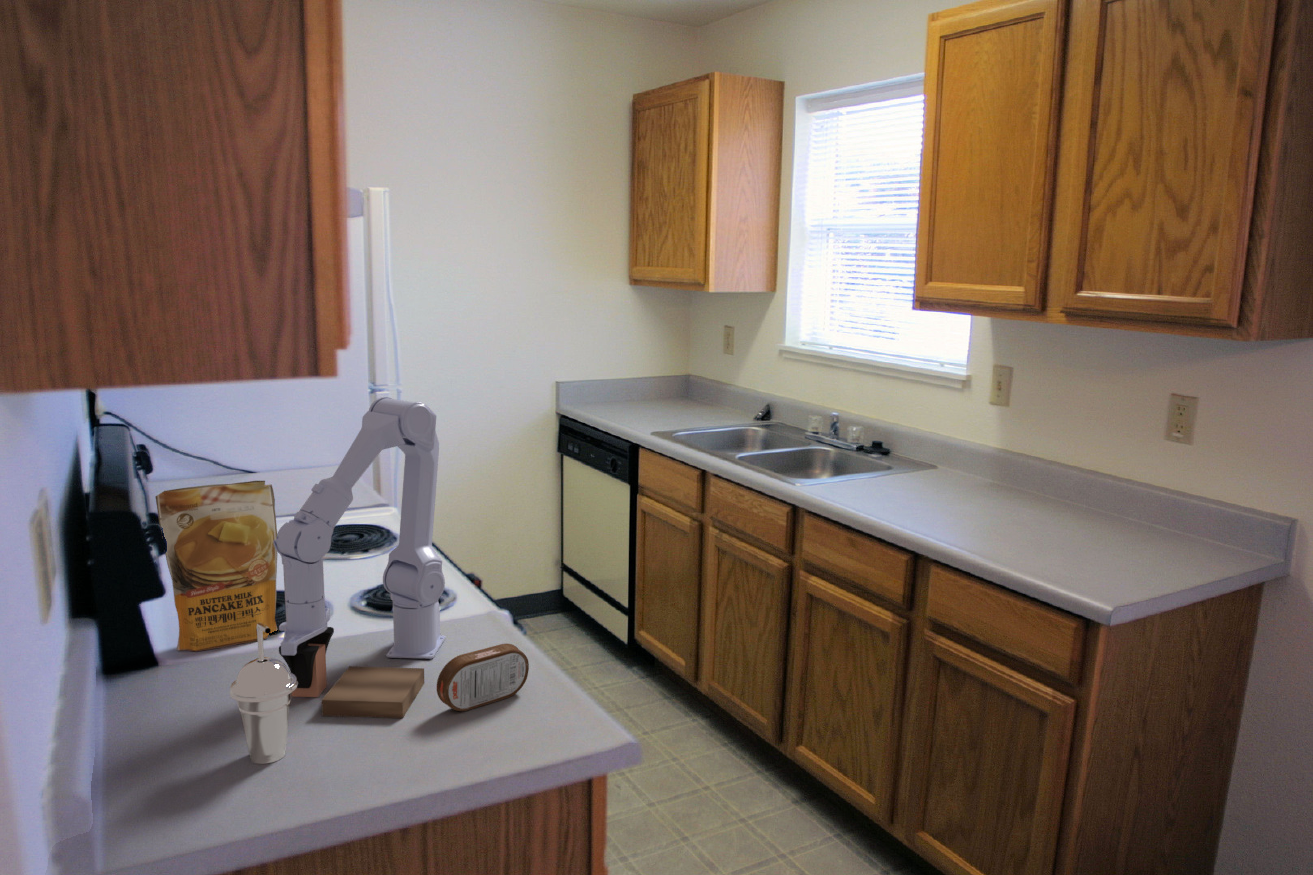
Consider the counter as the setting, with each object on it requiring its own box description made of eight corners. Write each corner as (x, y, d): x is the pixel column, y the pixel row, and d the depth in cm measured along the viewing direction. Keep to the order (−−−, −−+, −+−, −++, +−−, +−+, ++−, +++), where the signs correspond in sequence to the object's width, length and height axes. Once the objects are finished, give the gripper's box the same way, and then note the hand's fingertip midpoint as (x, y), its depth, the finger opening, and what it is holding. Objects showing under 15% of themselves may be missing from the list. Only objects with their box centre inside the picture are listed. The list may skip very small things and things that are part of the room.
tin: (521, 685, 152) (521, 636, 150) (532, 692, 150) (532, 642, 148) (435, 712, 142) (434, 659, 141) (445, 720, 140) (444, 666, 138)
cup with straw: (307, 738, 134) (301, 603, 130) (291, 772, 125) (283, 628, 121) (244, 741, 133) (236, 604, 129) (223, 775, 124) (213, 630, 120)
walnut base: (350, 680, 152) (349, 666, 152) (424, 682, 152) (424, 668, 152) (322, 715, 141) (321, 699, 140) (402, 717, 140) (402, 702, 140)
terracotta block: (301, 685, 151) (299, 643, 149) (327, 685, 150) (325, 644, 149) (291, 696, 147) (289, 653, 145) (317, 697, 147) (315, 654, 145)
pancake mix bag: (165, 644, 165) (152, 487, 160) (280, 624, 176) (272, 476, 171) (169, 657, 160) (156, 496, 155) (288, 636, 170) (280, 483, 165)
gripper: (297, 581, 153) (301, 660, 155) (258, 613, 139) (263, 700, 141) (341, 582, 153) (344, 662, 155) (306, 615, 139) (310, 702, 141)
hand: (309, 680), depth 148 cm, fingers closed on terracotta block, 4 cm apart
